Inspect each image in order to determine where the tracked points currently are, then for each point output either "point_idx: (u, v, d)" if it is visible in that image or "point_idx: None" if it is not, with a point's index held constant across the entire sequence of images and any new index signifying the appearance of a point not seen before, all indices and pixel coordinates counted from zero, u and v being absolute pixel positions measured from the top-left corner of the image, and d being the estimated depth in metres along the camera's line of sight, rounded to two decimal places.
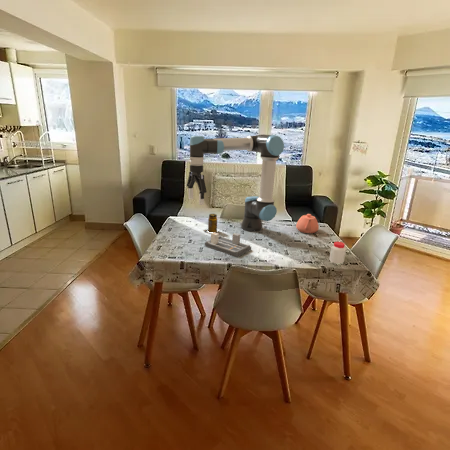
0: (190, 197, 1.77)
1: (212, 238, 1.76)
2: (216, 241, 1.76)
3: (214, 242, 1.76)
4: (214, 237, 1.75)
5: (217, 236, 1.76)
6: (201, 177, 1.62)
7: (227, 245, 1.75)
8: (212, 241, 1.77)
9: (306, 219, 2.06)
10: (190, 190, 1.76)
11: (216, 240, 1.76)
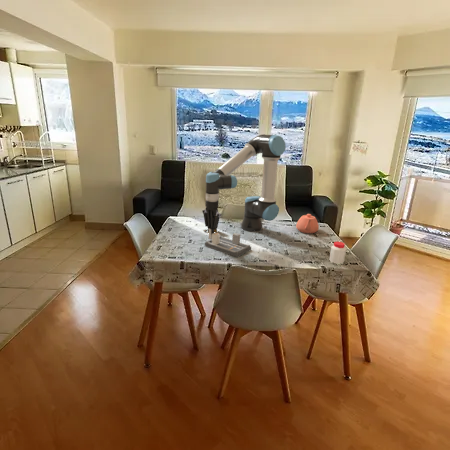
0: None
1: (213, 238, 1.76)
2: (217, 241, 1.76)
3: (215, 242, 1.75)
4: (215, 237, 1.75)
5: (218, 236, 1.75)
6: (218, 216, 1.70)
7: (227, 245, 1.75)
8: (213, 241, 1.76)
9: (306, 219, 2.06)
10: None
11: (217, 240, 1.75)
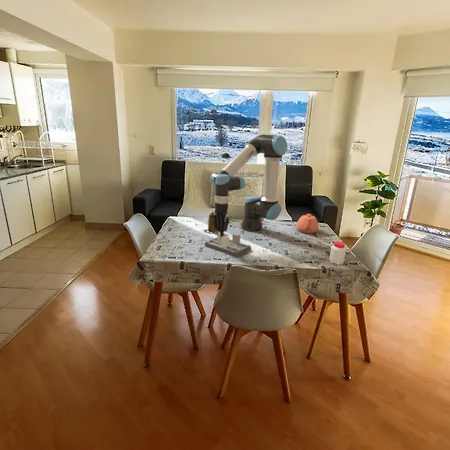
0: None
1: (222, 241, 1.72)
2: (226, 244, 1.72)
3: (224, 245, 1.71)
4: (224, 240, 1.71)
5: (228, 239, 1.71)
6: (228, 219, 1.66)
7: None
8: (222, 244, 1.72)
9: (306, 219, 2.06)
10: None
11: (226, 243, 1.71)
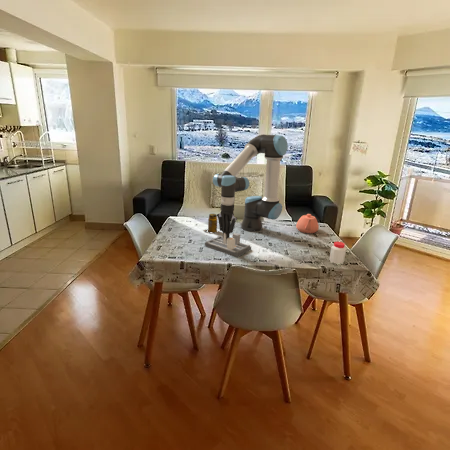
0: None
1: (228, 243, 1.69)
2: (232, 246, 1.69)
3: (230, 247, 1.69)
4: (230, 242, 1.68)
5: (233, 241, 1.69)
6: (234, 220, 1.64)
7: None
8: (228, 246, 1.70)
9: (306, 219, 2.06)
10: None
11: (232, 245, 1.69)
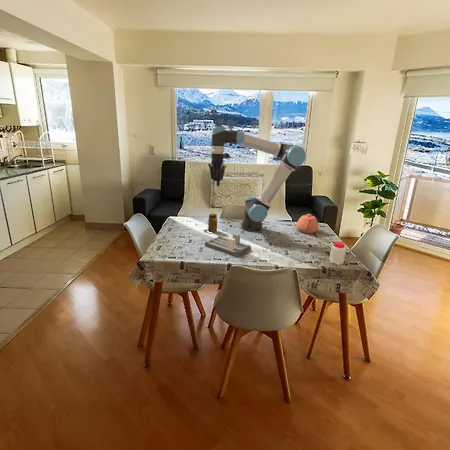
0: None
1: (229, 243, 1.69)
2: (233, 247, 1.69)
3: (231, 248, 1.69)
4: (231, 242, 1.68)
5: (234, 241, 1.69)
6: (224, 168, 1.81)
7: None
8: (229, 247, 1.70)
9: (306, 219, 2.06)
10: None
11: (233, 246, 1.69)
